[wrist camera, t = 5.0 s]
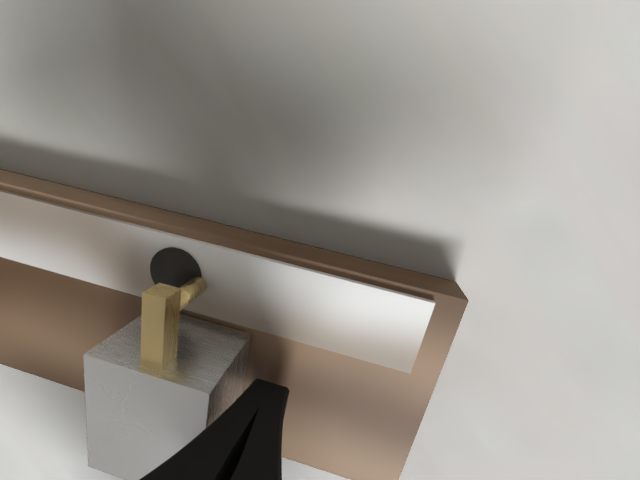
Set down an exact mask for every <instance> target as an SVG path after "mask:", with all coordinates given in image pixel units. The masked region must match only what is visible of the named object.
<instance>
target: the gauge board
mask: <svg viewBox="0 0 640 480" xmlns="http://www.w3.org/2000/svg"><path fill="white" fill-rule="evenodd" d="M195 277H201V278H203V279H204V280H205V281H206V283H207V289H206V290H205V291H204V292H203V293H202V294H201V295H199V296H198V297H197V298H196V299H194V300H193V301H192V302H190V303H189V304H188V305H187V306H185V307H184V308H183V309H182V310H180V313H181V314H184V315H188V316H191V317H195V318H198V319H202V320H205V321H209V322H212V323H216V324H219V325H222V326H226V327H229V328H233V329H236V330H240V331H243V332H247V333H250V334H251V339H250V346H249V352H248V359H247V365H246V372H245V378H244V385H243V391H242V393H243V392H244V391H245V390H246V389H247V388H248V387H249V386H250V384H251V383H252V382H253V381H254V380H255V379H257V378H258V379H262V380H265V381H268V382H271V383H275V384H278V385H281V386H285V387H287V388H288V389H289V391H290V392H289V396H288V401H287V406H286V410H285V415H284V419H283V429H282V452H281V457H284V458H287V459H290V460H293V461H296V462H299V463H302V464H305V465H308V466H311V467H314V468H317V469H320V470H323V471H327V472H330V473H333V474H336V475H339V476H342V477H345V478H348V479H351V480H399V477H400V475H401V472H402V469H403V467H404V464H405V462H406V459H407V457H408V454H409V452H410V449H411V446H412V444H413V441H414V439H415V436H416V434H417V431H418V428H419V426H420V423H421V421H422V418H423V416H424V413H425V411H426V408H427V405H428V403H429V400H430V398H431V395H432V393H433V390H434V388H435V385H436V382H437V380H438V377H439V375H440V372H441V370H442V367H443V365H444V362H445V359H446V357H447V354H448V352H449V349H450V347H451V344H452V342H453V339H454V336H455V334H456V331H457V329H458V326H459V324H460V321H461V319H462V316H463V313H464V311H465V308H466V306H467V303H468V299H467V298H466V296H465V295H464V293H463V292H462V290H461V289H460V287H459V286H458V284H457V283H456V282H454V281H450V280H445V279H441V278H437V277H433V276H429V275H425V274H421V273H417V272H413V271H409V270H405V269H401V268H397V267H393V266H389V265H385V264H381V263H377V262H373V261H369V260H365V259H361V258H357V257H353V256H349V255H345V254H341V253H337V252H333V251H328V250H324V249H320V248H316V247H312V246H308V245H304V244H300V243H296V242H292V241H288V240H284V239H280V238H276V237H272V236H268V235H264V234H260V233H256V232H252V231H248V230H244V229H240V228H236V227H232V226H228V225H224V224H220V223H216V222H211V221H207V220H203V219H199V218H195V217H191V216H187V215H183V214H179V213H175V212H171V211H167V210H163V209H159V208H155V207H151V206H147V205H143V204H139V203H135V202H131V201H127V200H123V199H119V198H115V197H111V196H107V195H103V194H99V193H94V192H90V191H86V190H82V189H78V188H74V187H70V186H66V185H62V184H58V183H54V182H50V181H46V180H42V179H38V178H34V177H30V176H26V175H22V174H18V173H14V172H10V171H6V170H2V169H0V364H3V365H6V366H9V367H12V368H15V369H18V370H21V371H24V372H27V373H30V374H33V375H36V376H39V377H42V378H45V379H48V380H51V381H54V382H57V383H60V384H63V385H66V386H69V387H72V388H75V389H78V390H82V391H85V381H84V358H83V354H85V353H86V352H87V351H89V350H90V349H92V348H93V347H95V346H96V345H98V344H99V343H101V342H102V341H104V340H105V339H107V338H108V337H110V336H111V335H113V334H114V333H116V332H117V331H119V330H120V329H122V328H123V327H125V326H126V325H128V324H129V323H130V322H132V321H133V320H135V319H136V318H138V317H139V316H141V315H142V292H144V291H146V290H148V289H149V288H151V287H153V286H155V285H156V284H158V283H163V284H167V285H170V286H174V287H178V288H179V287H181V286H182V285H184V284H185V283H187V282H188V281H190V280H191V279H193V278H195Z"/></svg>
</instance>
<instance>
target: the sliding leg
mask: <svg viewBox="0 0 640 480" xmlns="http://www.w3.org/2000/svg"><path fill="white" fill-rule="evenodd" d="M206 289H207V283H206V281H205V280H204V279H203V278H201V277H195V278H193V279H191V280H190V281H188V282H187V283H185V284H184V285H182V286H181V287H179V288H178V287H174V286H170V285H167V284H163V283H158V284H156V285H155V286H153V287H151V288H149V289H148V290H146V291H144V292H142V315H141V316H139V317H138V318H136V319H135V320H133V321H132V322H130V323H129V324H128V325H126V326H125V327H123V328H122V329H120V330H119V331H117V332H116V333H114V334H113V335H111V336H110V337H108V338H107V339H105V340H104V341H102V342H101V343H99V344H98V345H96V346H95V347H93V348H92V349H90V350H89V351H87V352H86V353H85V354H83V358H84V381H85V404H86V427H87V450H88V466H89V467H92V468H95V469H98V470H100V471H103V472H106V473H109V474H111V475H114V476H117V477H120V478H122V479H125V480H139V479H141V478H142V477H144V476H145V475H147V474H148V473H149V472H151V471H152V470H154V469H155V468H157V467H158V466H159V465H161V464H162V463H164V462H165V461H166V460H168V459H169V458H170V457H172V456H173V455H174V454H176V453H177V452H178V451H179V450H181V449H182V448H183V447H184V446H186V445H187V444H188V443H189V442H191V441H192V440H193V439H194V438H195V437H196V436H198V435H199V434H200V433H201V432H202V431H203V430H205V429H206V428H207V427H208V426H209V425H210V424H212V423H213V422H214V421H215V420H216V419H217V418H218V417H219V416H220V415H221V414H222V413H223V412H224V411H225V410H226V409H228V408H229V407H230V406H231V405H232V404H233V403H234V402H235V401H236V400H237V399H238V398H239V396H240V395H241V394H242V391H243V385H244V378H245V372H246V365H247V359H248V352H249V346H250V339H251V334H250V333H247V332H243V331H240V330H236V329H233V328H229V327H226V326H222V325H219V324H216V323H212V322H209V321H205V320H202V319H198V318H195V317H191V316H188V315H184V314H181V313H180V310H182V309H183V308H184V307H185V306H187V305H188V304H189V303H190V302H192V301H193V300H194V299H196V298H197V297H198V296H199V295H201V294H202V293H203V292H204V291H205V290H206Z"/></svg>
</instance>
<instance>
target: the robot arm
mask: <svg viewBox="0 0 640 480" xmlns="http://www.w3.org/2000/svg"><path fill="white" fill-rule="evenodd" d="M289 392H290V391H289V389H288V388H287V387H285V386H281V385H278V384H275V383H271V382H268V381H265V380H262V379H258V378H257V379H255V380H254V381H253V382H252V383H251V384H250V386H249V387H248V388H247V389H246V390H245V391H244V392H243V393H242V394H241V395H240V396H239V398H238V399H237V400H236V401H235V402H234V403H233V404H232V405H231V406H230V407H229V408H228V409H226V410H225V411H224V412H223V413H222V414H221V415H220V416H219V417H218V418H217V419H216V420H215V421H214V422H213V423H212V424H210V425H209V426H208V427H207V428H206V429H205V430H203V431H202V432H201V433H200V434H199V435H198V436H196V437H195V438H194V439H193V440H192V441H191V442H189V443H188V444H187V445H186V446H184V447H183V448H182V449H181V450H179V451H178V452H177V453H176V454H174V455H173V456H172V457H170V458H169V459H168V460H166V461H165V462H164V463H162V464H161V465H159V466H158V467H157V468H155V469H154V470H152V471H151V472H149V473H148V474H147V475H145V476H144V477H142V478H141V479H139V480H282V473H281V452H282V429H283V419H284V415H285V410H286V406H287V401H288V396H289Z"/></svg>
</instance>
